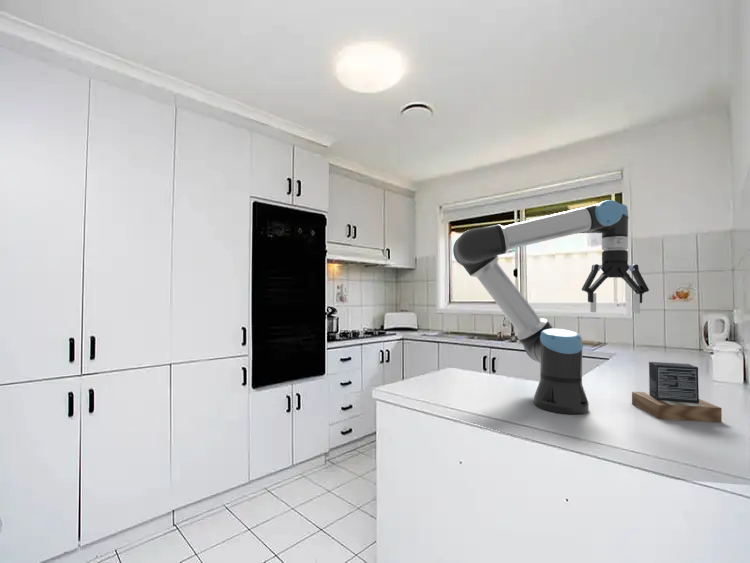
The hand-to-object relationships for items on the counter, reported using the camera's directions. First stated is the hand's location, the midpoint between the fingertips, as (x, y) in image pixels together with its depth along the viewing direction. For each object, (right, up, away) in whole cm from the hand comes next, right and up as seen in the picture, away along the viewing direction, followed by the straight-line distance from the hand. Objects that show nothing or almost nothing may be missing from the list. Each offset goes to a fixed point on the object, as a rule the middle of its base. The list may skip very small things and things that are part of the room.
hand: (614, 312), depth 129 cm
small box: (+8, -25, -16) cm, 30 cm away
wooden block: (+8, -29, -16) cm, 33 cm away
